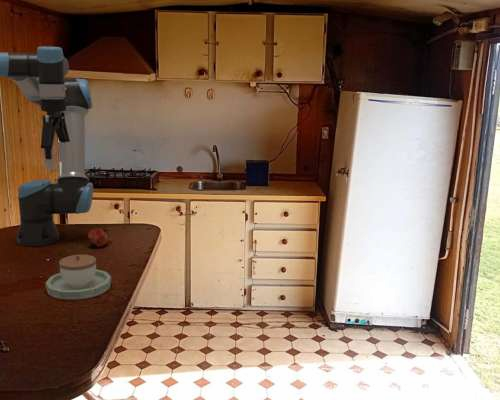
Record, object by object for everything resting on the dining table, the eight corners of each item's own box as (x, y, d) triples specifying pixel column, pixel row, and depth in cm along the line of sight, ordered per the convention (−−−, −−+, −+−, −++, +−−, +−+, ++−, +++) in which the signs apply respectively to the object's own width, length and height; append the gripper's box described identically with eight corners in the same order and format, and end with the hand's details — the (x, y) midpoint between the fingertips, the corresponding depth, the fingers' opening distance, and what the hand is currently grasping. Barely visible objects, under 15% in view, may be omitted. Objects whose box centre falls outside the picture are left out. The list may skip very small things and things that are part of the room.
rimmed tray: (58, 275, 169) (57, 268, 169) (116, 276, 170) (115, 269, 169) (38, 299, 151) (37, 291, 151) (102, 300, 152) (102, 292, 152)
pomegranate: (90, 255, 195) (112, 239, 195) (77, 240, 193) (99, 224, 193) (94, 251, 202) (115, 235, 202) (81, 236, 201) (102, 220, 201)
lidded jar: (86, 293, 154) (84, 262, 152) (53, 289, 156) (51, 259, 154) (103, 279, 165) (102, 251, 162) (72, 276, 167) (70, 248, 164)
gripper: (52, 100, 152) (56, 173, 157) (76, 96, 176) (79, 159, 181) (25, 100, 151) (31, 172, 156) (53, 96, 176) (57, 158, 181)
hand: (57, 165), depth 169 cm, fingers open, 13 cm apart
